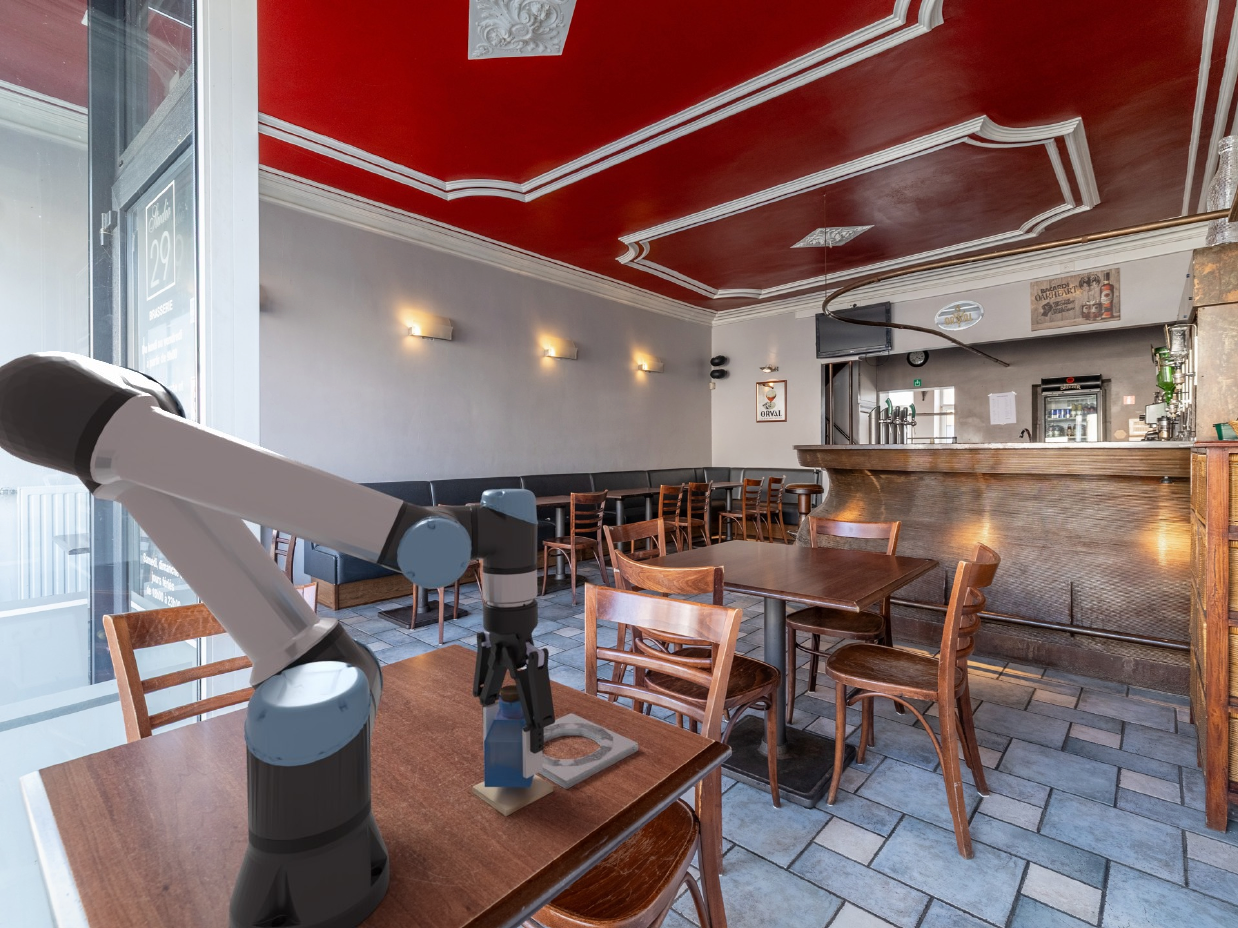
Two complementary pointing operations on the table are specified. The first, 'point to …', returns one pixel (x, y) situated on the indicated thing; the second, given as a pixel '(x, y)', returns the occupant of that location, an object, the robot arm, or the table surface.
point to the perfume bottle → (506, 744)
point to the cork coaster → (512, 795)
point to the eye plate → (584, 767)
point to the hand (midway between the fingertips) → (512, 760)
